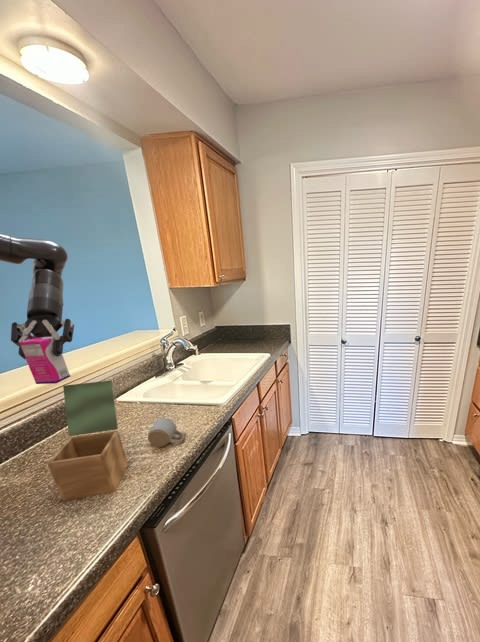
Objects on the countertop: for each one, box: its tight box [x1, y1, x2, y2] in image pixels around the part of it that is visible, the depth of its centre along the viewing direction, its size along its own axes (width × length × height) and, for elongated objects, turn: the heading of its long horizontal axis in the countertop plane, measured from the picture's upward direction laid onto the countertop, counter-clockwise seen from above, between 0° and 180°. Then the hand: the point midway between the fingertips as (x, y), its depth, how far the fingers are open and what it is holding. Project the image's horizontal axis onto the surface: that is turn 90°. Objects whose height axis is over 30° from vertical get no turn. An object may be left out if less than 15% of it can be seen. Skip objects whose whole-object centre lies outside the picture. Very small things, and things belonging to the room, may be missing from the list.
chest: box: [47, 430, 129, 501], centre depth 89 cm, size 14×13×13 cm
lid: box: [62, 379, 119, 437], centre depth 93 cm, size 14×13×1 cm
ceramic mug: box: [147, 417, 185, 448], centre depth 111 cm, size 11×8×8 cm
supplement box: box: [19, 336, 71, 385], centre depth 86 cm, size 6×6×12 cm
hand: (40, 356), depth 84 cm, fingers closed on supplement box, 6 cm apart
